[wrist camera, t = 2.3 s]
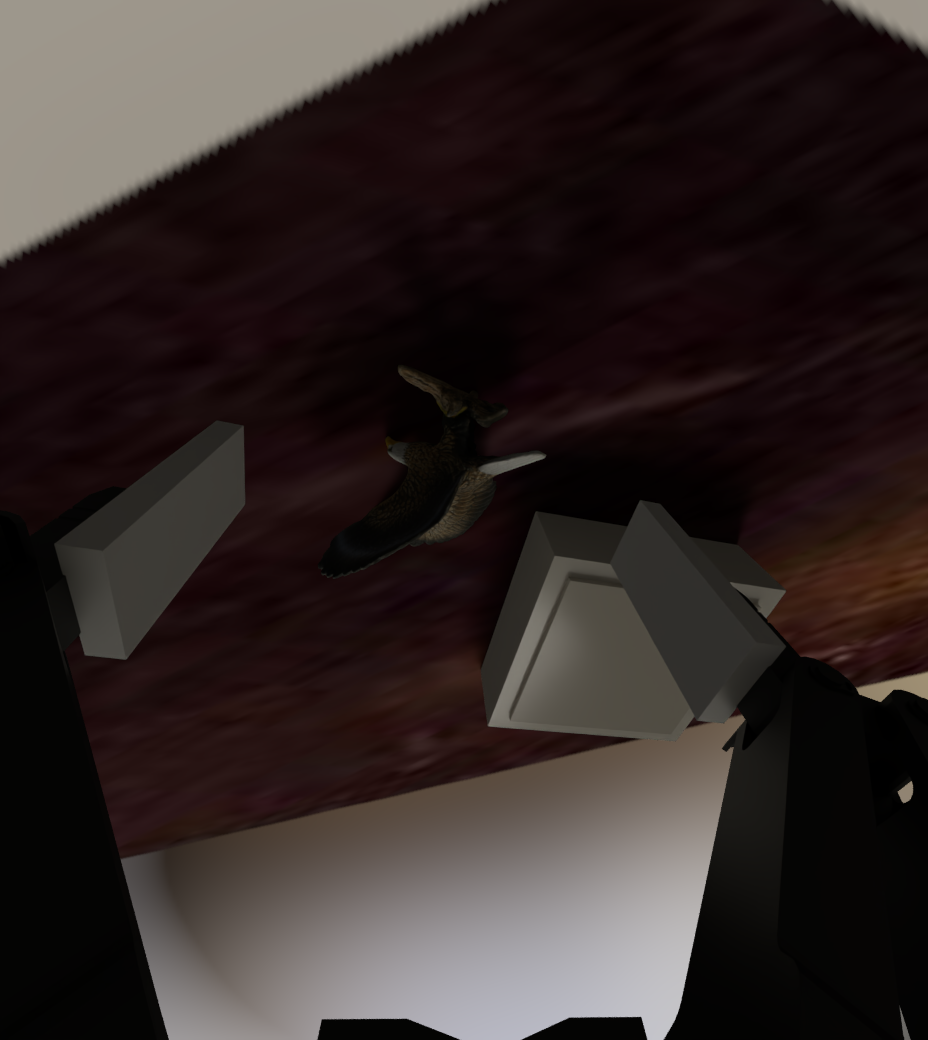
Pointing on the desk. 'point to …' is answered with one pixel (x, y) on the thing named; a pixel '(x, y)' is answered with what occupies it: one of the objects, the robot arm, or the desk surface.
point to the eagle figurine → (429, 484)
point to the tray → (590, 637)
